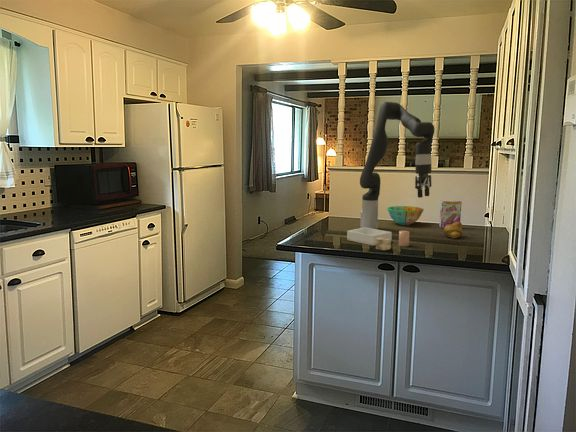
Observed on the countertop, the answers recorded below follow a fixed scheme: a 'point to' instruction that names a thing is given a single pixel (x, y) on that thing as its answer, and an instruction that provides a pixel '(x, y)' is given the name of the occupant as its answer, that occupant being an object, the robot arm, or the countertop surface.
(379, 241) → the birch cube
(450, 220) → the candy bar box
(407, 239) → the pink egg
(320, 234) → the countertop surface
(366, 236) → the tote
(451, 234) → the bread roll
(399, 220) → the bowl
